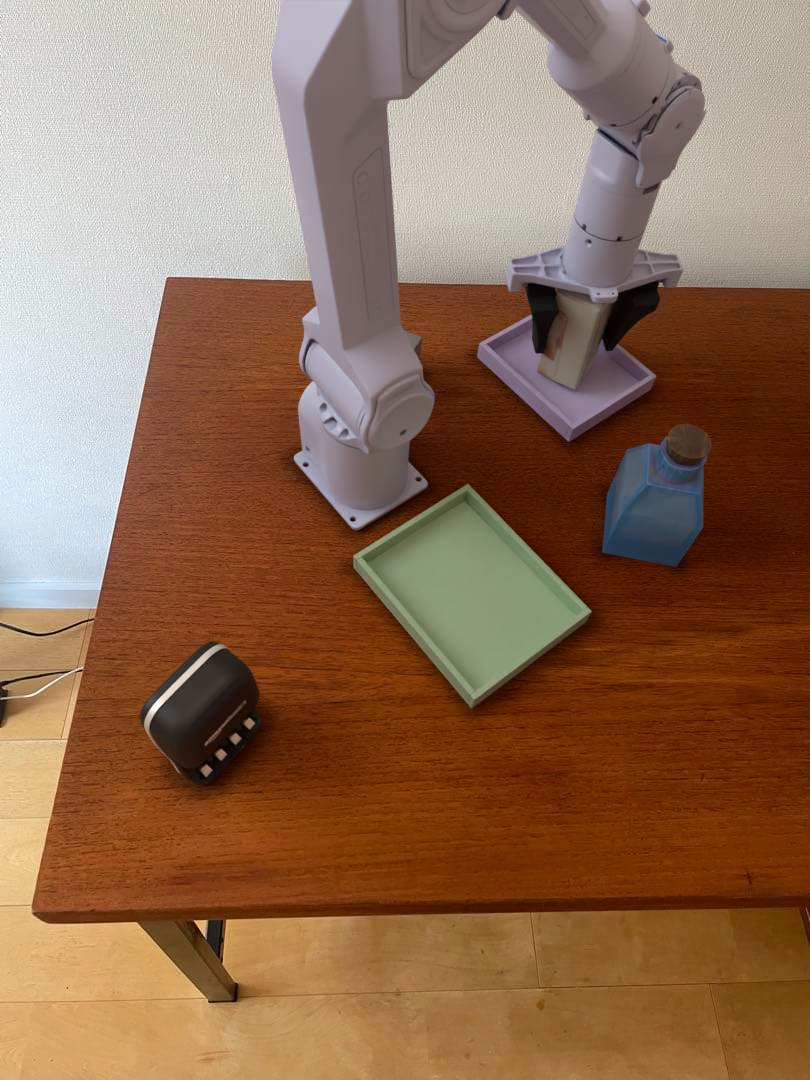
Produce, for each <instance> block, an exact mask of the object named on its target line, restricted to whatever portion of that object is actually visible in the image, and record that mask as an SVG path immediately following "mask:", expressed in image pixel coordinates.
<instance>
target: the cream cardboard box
mask: <svg viewBox="0 0 810 1080" xmlns="http://www.w3.org/2000/svg"><path fill="white" fill-rule="evenodd" d="M556 292H557V295H556V301H557V305H558V309H559V313H558V314H557V316H556V318H555V319H554V321H553V323H552V326H551V328H550V331H549V334H548V339H547V344H546V348H545V350H544V352H543V353H541V356H540V361H539V365H538V369H537V372H538V373H539V374H541V375H543V376H545V377H547V378H550V379H552V380H554V381H556V382H558V383H560V384H562V385H565V386H567V387H569V388H571V389H574V390H576V389H577V388H578V386H579V385H580V383H581V382H582V380H583V379H584V377H585V376H586V374H587V372H588V371H589V369H590V368H591V366H592V364H593V362H594V361H595V359H596V356H597V353H598V350H599V347H600V344H601V341H602V338H603V335H604V332H605V329H606V326H607V323H608V320H609V317H610V314H611V311H612V308H613V305H614V302H613V303H595V302H593V301H592V299H591V297H590V295H588V294H583V293H578V292H574V291H569V290H564V289H560V288H556Z"/></svg>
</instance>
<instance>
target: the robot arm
mask: <svg viewBox="0 0 810 1080" xmlns="http://www.w3.org/2000/svg"><path fill="white" fill-rule="evenodd" d="M651 9H652V8H651V5H650V3H649V2H648V0H280V6H279V11H278V17H277V23H276V28H275V34H274V38H273V44H272V51H271V74H272V81H273V86H274V91H275V97H276V102H277V107H278V113H279V117H280V122H281V128H282V133H283V134H282V135H283V138H284V139H283V140H284V144H285V149H286V155H287V159H288V165H289V170H290V175H291V181H292V185H293V186H292V187H293V190H294V196H295V202H296V206H297V211H298V217H299V222H300V227H301V232H302V237H303V243H304V249H305V253H306V258H307V264H308V269H309V274H310V279H311V285H312V289H313V295H314V300H315V306H313V308H311V309H310V310H309V311H308V312H307V313H306V314H305V315H304V316H303V317H302V319H301V321H302V326H303V340H302V342H301V346H300V350H299V355H298V362H299V367H300V369H301V371H302V373H304V375H305V376H306V377H307V378H308V379H309V380H311V382H310V383H308V385H307V386H306V387H305V389H304V391H303V393H302V394H301V397H300V398H299V401H298V406H297V415H298V425H299V433H300V434H299V435H300V443H301V451H298V452H297V453H295V454H294V456H293V461H294V463H295V464H296V466H298V468H299V469H300V470H301V471H302V473H304V475H305V476H306V477H307V478H308V479H309V480H310V482H311V483H312V484H313V485H314V486H315V488H316V489H317V490H318V491H319V492H320V493H321V494H322V496H323V497H324V498H325V499H326V500H327V502H328V503H329V504H330V505H331V506H332V507H333V508H334V510H335V511H336V512H337V513H338V514H339V515H340V517H341V518H342V519H343V520H344V521H345V522H346V524H347V525H348V526H349V528H351V530H353V531H360V530H361V529H363V528H365V527H366V526H368V525H369V524H371V523H373V522H375V521H376V520H378V519H379V518H382V517H383V516H385V515H386V514H388V513H389V512H391V511H392V510H395V509H396V508H397V507H399V506H400V505H402V504H404V503H405V502H407V501H408V500H410V499H412V498H414V497H415V496H417V495H418V494H421V492H423V491H425V490H426V489H427V488H428V486H429V483H428V480H426V478H425V477H424V476H423V475H422V474H421V473H420V472H419V471H418V470H417V469H416V467H414V466H413V464H412V463H410V460H409V455H410V444H411V443H410V441H412V439H414V438H415V437H416V436H417V435H418V434H419V433H420V432H422V430H423V428H425V426H426V425H427V423H428V422H429V419H430V417H431V415H432V412H433V409H434V406H435V402H436V401H435V400H436V399H435V398H436V397H435V392H434V390H433V388H432V387H431V386H430V385H429V384H428V383H427V382H426V381H425V379H424V367H423V364H422V362H421V359H420V360H419V358H418V356H417V354H416V353H415V351H414V349H413V347H412V345H411V343H410V341H409V339H408V337H407V336H406V334H405V332H404V330H405V329H404V328H403V325H402V318H401V304H400V302H401V301H400V290H399V289H400V288H399V287H400V286H399V274H398V272H399V271H398V258H397V256H398V255H397V242H396V241H397V240H396V227H395V211H394V196H393V183H392V182H393V180H392V167H391V150H390V134H389V120H388V105H389V103H390V101H398V100H399V101H401V100H406V99H409V98H411V97H412V96H413V95H414V94H415V93H416V92H417V91H418V90H419V89H420V88H421V87H423V86H424V85H425V83H426V82H428V81H429V80H430V79H431V78H432V77H433V76H434V75H435V74H436V73H437V72H439V71H440V70H441V68H443V67H444V66H445V65H446V64H447V63H448V62H449V61H450V60H451V59H452V58H453V57H454V56H456V55H457V54H458V53H459V52H460V51H461V50H462V49H463V48H464V47H465V46H466V45H467V44H468V43H470V41H472V39H474V38H475V37H476V36H477V35H478V34H479V33H480V32H482V30H483V29H484V28H485V27H486V26H487V25H488V24H489V23H490V22H491V21H492V20H493V19H494V17H496V18H497V19H499V20H500V21H507V20H509V19H510V18H511V16H513V13H514V12H516V13H517V14H519V16H521V17H522V18H523V19H524V20H525V21H526V22H527V23H528V24H529V25H530V26H532V28H533V29H535V30H536V31H537V32H538V33H539V34H540V36H542V37H543V38H544V39H546V40H547V44H546V53H545V56H546V57H545V59H546V65H547V69H548V72H549V75H550V77H551V78H552V80H553V82H555V84H557V86H558V87H559V88H561V89H562V90H563V91H564V93H566V94H567V95H568V96H569V97H570V98H571V99H572V100H573V101H574V102H575V103H576V104H577V105H578V106H579V107H580V108H581V109H582V115H583V119H584V121H587V122H588V121H591V122H592V123H593V124H594V126H595V127H596V129H595V130H594V134H593V137H592V142H591V146H590V149H589V153H588V157H587V161H586V165H585V169H584V173H583V177H582V181H581V184H580V188H579V192H578V197H577V200H576V204H575V207H574V211H573V215H572V219H571V223H570V226H569V230H568V235H567V238H566V242H565V245H562V246H558V247H555V248H554V247H553V248H552V249H548V250H543V251H541V252H537V253H534V254H530V255H527V256H521V257H509V258H508V261H507V267H506V271H505V280H506V287H507V290H508V293H519V292H521V291H522V289H523V287H524V290H525V293H526V297H527V301H528V306H529V309H530V312H531V314H532V326H533V329H532V342H533V346H534V350H535V353H536V354H541V353H543V352H544V350H545V348H546V344H547V339H548V334H549V331H550V328H551V326H552V323H553V321H554V319H555V318H556V316H557V314H558V313H559V309H558V305H557V301H556V295H557V292H556V291H557V289H558V288H560V289H564V290H569V291H574V292H578V293H583V294H588V295H590V297H591V299H592V301H593V302H595V303H613V302H614V305H613V308H612V311H611V314H610V317H609V320H608V323H607V326H606V329H605V332H604V335H603V338H602V340H603V343H604V347H605V350H606V351H613V349H614V348H615V347H616V345H617V344H619V343H620V342H621V340H622V339H623V338H624V337H625V335H627V333H628V332H629V331H630V330H631V329H632V328H634V326H635V325H636V324H637V323H638V322H640V321H641V320H642V319H644V318H646V317H647V316H649V315H650V314H652V313H654V312H656V310H657V309H658V307H659V305H660V302H661V297H660V294H659V291H658V288H659V285H660V283H662V286H663V287H664V288H666V289H667V288H677V287H678V284H679V281H680V279H681V276H682V274H683V272H684V267H683V265H682V262H681V260H680V257H679V255H678V253H662V252H656V251H651V250H647V249H641V248H640V246H641V244H642V240H643V237H644V234H645V231H646V228H647V226H648V223H649V220H650V218H651V215H652V213H653V209H654V206H655V203H656V201H657V198H658V194H659V191H660V189H661V186H662V183H663V181H665V180H668V179H669V178H670V177H671V174H672V172H673V171H674V170H675V169H676V167H677V165H678V161H679V159H680V157H681V155H682V153H683V151H684V150H685V148H686V146H687V145H689V143H690V141H691V140H693V137H694V136H695V134H696V133H697V132H698V130H699V129H700V126H701V125H702V123H703V120H704V118H705V117H706V114H707V110H706V109H705V105H706V97H705V95H704V92H703V86H702V81H701V80H700V78H698V77H697V76H696V75H695V74H693V73H692V72H690V71H688V70H687V69H685V68H684V67H683V66H681V65H680V64H678V63H676V62H675V61H674V58H673V56H672V55H671V54H672V52H673V50H674V47H675V46H674V43H673V42H672V41H671V38H669V37H667V36H666V35H664V34H663V33H661V32H659V31H656V32H655V31H654V30H653V28H652V27H651V26H650V24H649V23H648V21H647V20H646V19H645V18H646V17H647V15H648V14H649V13H650V11H651ZM418 480H419V481H418ZM353 520H354V521H353Z"/></svg>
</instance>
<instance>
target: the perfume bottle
mask: <svg viewBox="0 0 810 1080" xmlns="http://www.w3.org/2000/svg"><path fill="white" fill-rule="evenodd" d="M711 449H712V441H711V438H710V437H709V435H708V434H707V433H706V432H705V431H704V430H703V429H702V428H700V427H699V426H695V425H693V424H684V423H683V424H677V425H676V426H674V427H672V428H671V429H670V430H669V431H668V435H667V436H666V437H664V438H663V440H662V441H661V443H660V444H654V443H646V444H643V445H642V444H641V445H639V446H636V447H632V448H628V449H626V451H625V453H624V456H623V457H622V460H621V462H620V465H619V466H618V469H617V471H616V473H615V475H614V477H613V480H612V482H611V484H610V487H608V491H607V493H606V505H605V516H604V525H603V526H604V528H603V539H602V548H601V549H602V551H601V553H603V554H608V555H614V556H618V557H623V558H629V559H633V560H639V561H644V562H649V563H655V564H659V565H664V566H665V565H666V566H669V567H675V568H676V567H678V565H679V564H680V562H681V561H682V559H683V558H684V556H685V555H686V553H687V551H688V550H689V549H690V547H691V546H692V544H693V543H694V541H695V540H696V538H697V537H698V536H699V534H700V533H701V531H702V530H703V528H704V466H705V464H706V462H707V458H708V454H709V453H710V452H711Z"/></svg>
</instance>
